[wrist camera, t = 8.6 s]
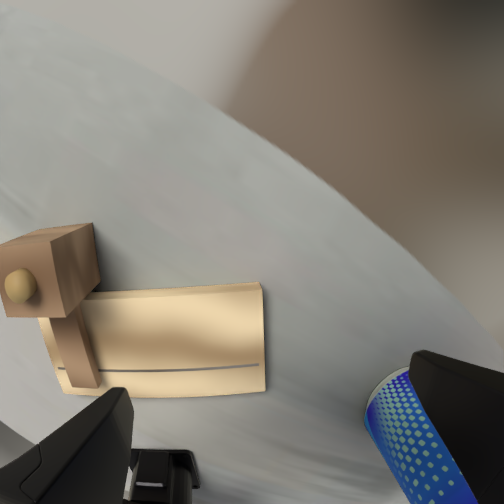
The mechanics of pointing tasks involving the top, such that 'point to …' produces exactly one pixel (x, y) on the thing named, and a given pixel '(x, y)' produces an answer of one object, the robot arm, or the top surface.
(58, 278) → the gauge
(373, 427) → the beer can
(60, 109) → the top surface
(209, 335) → the board
